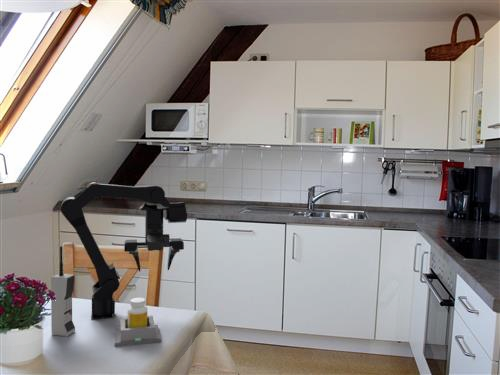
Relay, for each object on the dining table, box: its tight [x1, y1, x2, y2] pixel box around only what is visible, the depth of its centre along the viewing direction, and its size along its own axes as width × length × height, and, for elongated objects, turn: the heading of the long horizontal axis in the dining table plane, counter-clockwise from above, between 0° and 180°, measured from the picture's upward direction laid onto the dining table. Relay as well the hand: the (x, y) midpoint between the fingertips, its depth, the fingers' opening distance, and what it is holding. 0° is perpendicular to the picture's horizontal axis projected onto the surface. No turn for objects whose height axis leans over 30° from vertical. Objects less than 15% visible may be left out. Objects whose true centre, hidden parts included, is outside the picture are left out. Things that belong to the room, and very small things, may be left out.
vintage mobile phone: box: [50, 246, 76, 337], centre depth 121 cm, size 4×5×25 cm
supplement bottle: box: [127, 297, 148, 328], centre depth 121 cm, size 5×5×10 cm
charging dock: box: [114, 315, 162, 348], centre depth 121 cm, size 12×10×4 cm
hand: (154, 270), depth 142 cm, fingers open, 9 cm apart
